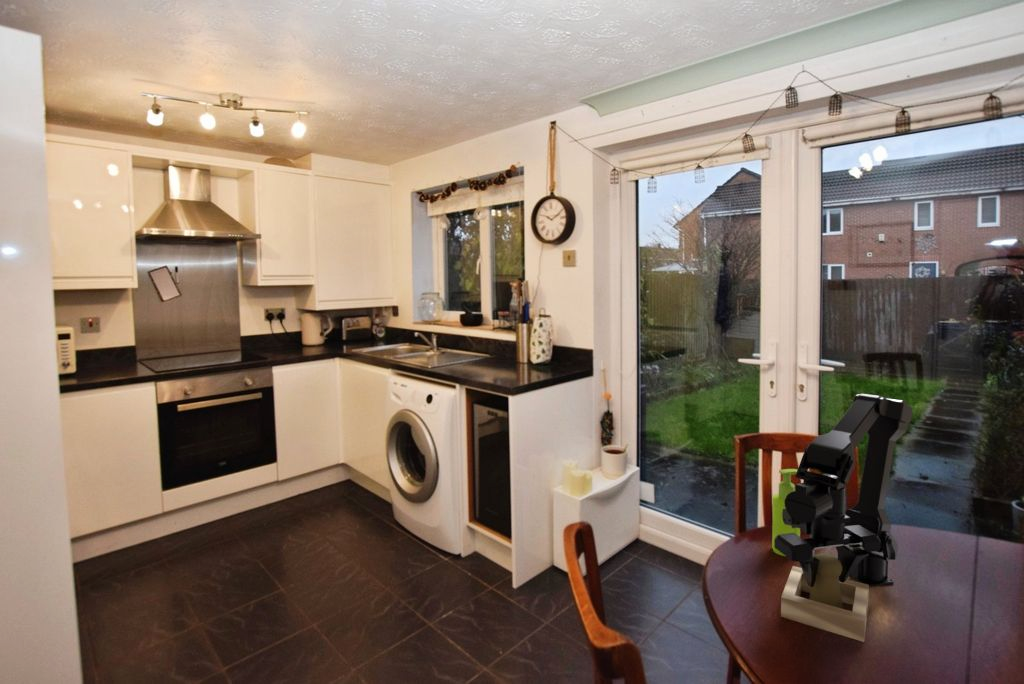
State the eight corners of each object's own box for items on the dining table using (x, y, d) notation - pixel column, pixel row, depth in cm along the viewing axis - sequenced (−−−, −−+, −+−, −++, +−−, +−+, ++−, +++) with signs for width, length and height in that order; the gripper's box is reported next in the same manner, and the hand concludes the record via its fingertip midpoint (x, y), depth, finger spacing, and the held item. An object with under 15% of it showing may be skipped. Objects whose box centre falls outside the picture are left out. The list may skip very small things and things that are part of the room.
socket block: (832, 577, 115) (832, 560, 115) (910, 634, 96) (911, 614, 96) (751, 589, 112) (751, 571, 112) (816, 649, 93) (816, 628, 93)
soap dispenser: (809, 556, 124) (810, 474, 122) (779, 557, 124) (780, 475, 122) (796, 544, 130) (797, 465, 128) (767, 545, 130) (768, 466, 128)
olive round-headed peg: (848, 621, 101) (850, 566, 99) (813, 618, 102) (814, 564, 101) (836, 602, 107) (837, 550, 105) (803, 599, 108) (804, 548, 107)
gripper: (839, 487, 111) (837, 557, 113) (757, 496, 108) (757, 568, 110) (883, 508, 100) (881, 586, 102) (794, 519, 98) (793, 599, 99)
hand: (825, 583), depth 104 cm, fingers open, 6 cm apart
